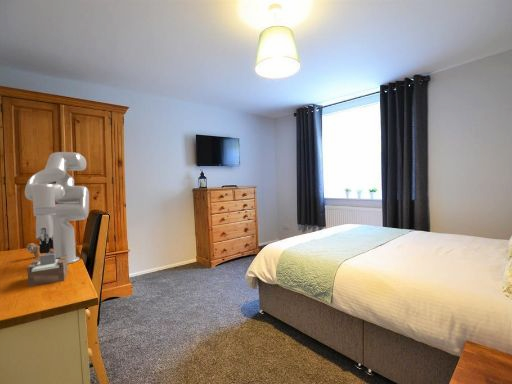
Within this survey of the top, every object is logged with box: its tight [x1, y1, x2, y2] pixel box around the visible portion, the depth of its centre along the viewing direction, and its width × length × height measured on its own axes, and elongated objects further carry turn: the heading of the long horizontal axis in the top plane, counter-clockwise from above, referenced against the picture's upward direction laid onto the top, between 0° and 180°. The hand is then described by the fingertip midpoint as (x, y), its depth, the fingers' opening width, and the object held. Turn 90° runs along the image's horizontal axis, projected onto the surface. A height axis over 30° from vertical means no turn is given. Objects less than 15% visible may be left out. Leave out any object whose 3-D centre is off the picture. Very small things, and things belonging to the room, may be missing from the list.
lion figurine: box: [26, 242, 54, 259], centre depth 157 cm, size 15×5×9 cm, turn 151°
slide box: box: [26, 255, 69, 288], centre depth 118 cm, size 14×12×8 cm
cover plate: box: [32, 252, 60, 272], centre depth 117 cm, size 13×9×5 cm
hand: (47, 250), depth 116 cm, fingers open, 9 cm apart
